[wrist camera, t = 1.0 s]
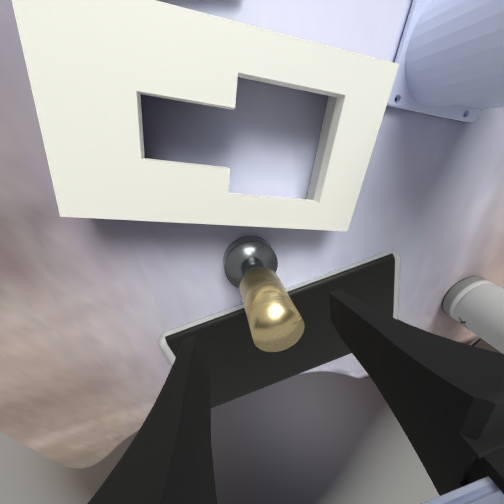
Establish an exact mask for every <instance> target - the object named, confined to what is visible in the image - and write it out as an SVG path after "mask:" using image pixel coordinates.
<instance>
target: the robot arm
mask: <svg viewBox="0 0 504 504" xmlns="http://www.w3.org/2000/svg"><path fill="white" fill-rule="evenodd" d="M394 63H398V64H399V67H398V70H397V74H396V77H395V80H394V83H393V86H392V90H391V93H390V96H389V99H388V103H387V106H390V107H395V108H400V109H405V110H409V111H414V112H419V113H424V114H429V115H434V116H438V117H443V118H448V119H453V120H458V121H463V122H467V123H469V122H474V121H476V120H477V119H478V117H479V115H480V113H481V111H482V109H486V108H495V107H504V0H413V3H412V6H411V9H410V13H409V16H408V19H407V22H406V26H405V29H404V32H403V36H402V39H401V42H400V46H399V49H398V52H397V56H396V59H395V62H394ZM396 96H397V101H396V102H395V97H396ZM463 114H464V115H463ZM329 302H330V316H331V322H332V323H333V325H334V327H335V329H336V330H337V332H338V334H339V335H340V337H341V339H342V340H343V341H344V343H345V344H346V345H347V347H348V348H349V349H350V351H351V352H352V353H353V355H354V356H355V357H356V359H357V360H358V361H359V362H360V364H361V365H362V366H363V368H364V369H365V370H366V372H367V373H368V374H369V376H370V377H371V378H372V380H373V381H374V383H375V384H376V386H377V387H378V389H379V391H380V392H381V394H382V395H383V397H384V399H385V400H386V402H387V403H388V405H389V407H390V408H391V410H392V412H393V413H394V415H395V416H396V418H397V420H398V421H399V423H400V425H401V426H402V428H403V430H404V432H405V434H406V435H407V437H408V439H409V440H410V442H411V444H412V446H413V447H414V449H415V451H416V453H417V455H418V456H419V458H420V460H421V462H422V463H423V465H424V467H425V469H426V471H427V473H428V475H429V476H430V478H431V480H432V482H433V484H434V486H435V488H436V489H437V492H438V493H439V495H440V496H439V497H436V498H434V499H432V500H429V501H427V502H424V503H422V504H504V354H502V353H497V352H493V351H489V350H485V349H481V348H477V347H474V346H470V345H466V344H463V343H460V342H456V341H453V340H450V339H447V338H444V337H441V336H438V335H435V334H432V333H429V332H427V331H424V330H421V329H419V328H416V327H414V326H411V325H409V324H406V323H404V322H402V321H400V320H397V319H395V318H393V317H391V316H389V315H387V314H385V313H383V312H381V311H379V310H377V309H375V308H373V307H371V306H369V305H367V304H365V303H364V302H362V301H360V300H358V299H356V298H355V297H353V296H351V295H349V294H348V293H346V292H344V291H342V290H340V289H338V290H335V291H332V292H329ZM210 411H211V393H210V373H209V365H208V360H207V357H206V355H205V353H204V351H203V349H202V347H201V344H200V342H199V340H198V338H197V336H196V335H192V336H189V337H186V338H184V339H183V341H182V343H181V346H180V349H179V351H178V354H177V356H176V359H175V361H174V364H173V366H172V368H171V370H170V373H169V375H168V377H167V379H166V382H165V384H164V386H163V388H162V390H161V392H160V394H159V396H158V398H157V400H156V402H155V404H154V406H153V407H152V409H151V411H150V413H149V415H148V416H147V418H146V420H145V422H144V423H143V425H142V427H141V428H140V430H139V432H138V433H137V435H136V436H135V438H134V440H133V441H132V443H131V444H130V446H129V447H128V449H127V451H126V452H125V454H124V455H123V456H122V458H121V459H120V461H119V462H118V463H117V465H116V466H115V468H114V469H113V470H112V472H111V473H110V475H109V476H108V478H107V479H106V480H105V482H104V483H103V484H102V486H101V487H100V488H99V490H98V491H97V492H96V494H95V495H94V496H93V498H92V499H91V500H90V501H89V503H88V504H217V500H216V491H215V481H214V471H213V460H212V448H211V430H210V429H211V422H210V421H211V420H210V419H211V418H210V416H211V413H210Z"/></svg>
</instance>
